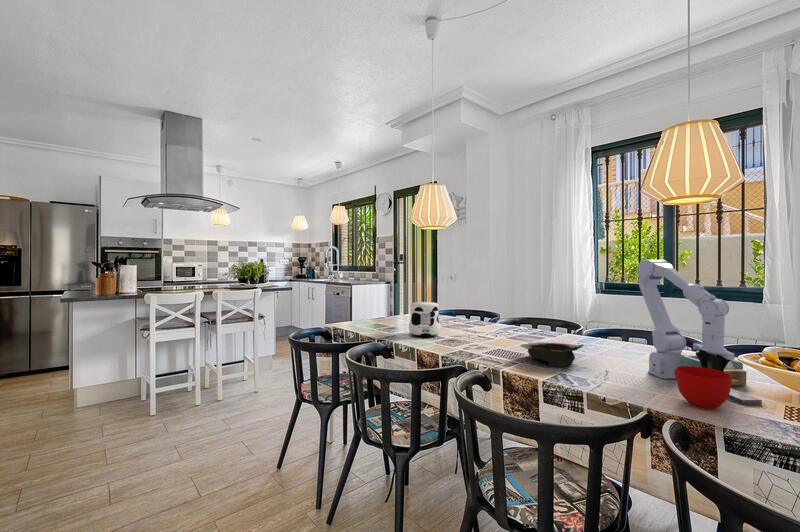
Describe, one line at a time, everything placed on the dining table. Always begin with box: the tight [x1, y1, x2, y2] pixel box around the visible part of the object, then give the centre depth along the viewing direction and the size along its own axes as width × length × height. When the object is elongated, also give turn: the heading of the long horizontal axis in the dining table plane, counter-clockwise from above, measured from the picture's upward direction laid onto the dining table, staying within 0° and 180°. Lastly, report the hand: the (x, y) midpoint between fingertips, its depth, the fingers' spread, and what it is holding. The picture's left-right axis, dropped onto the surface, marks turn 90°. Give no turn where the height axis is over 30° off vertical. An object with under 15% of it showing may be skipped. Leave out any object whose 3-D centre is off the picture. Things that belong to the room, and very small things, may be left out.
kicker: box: [707, 361, 747, 387], centre depth 129 cm, size 16×7×9 cm, turn 91°
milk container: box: [408, 301, 441, 338], centre depth 213 cm, size 17×17×18 cm
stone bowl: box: [519, 342, 584, 368], centre depth 161 cm, size 25×25×9 cm
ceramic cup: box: [675, 366, 732, 411], centre depth 115 cm, size 13×17×10 cm
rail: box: [726, 387, 763, 406], centre depth 123 cm, size 6×18×2 cm, turn 1°
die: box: [725, 361, 735, 369], centre depth 137 cm, size 8×9×10 cm
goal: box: [681, 354, 744, 370], centre depth 140 cm, size 15×10×7 cm, turn 91°
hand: (712, 375), depth 128 cm, fingers open, 3 cm apart
